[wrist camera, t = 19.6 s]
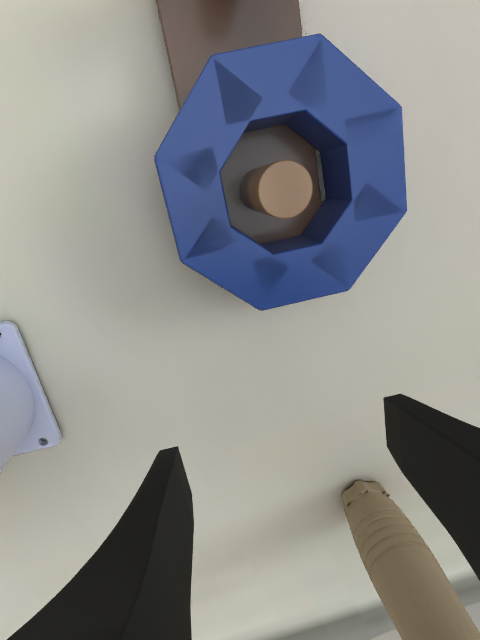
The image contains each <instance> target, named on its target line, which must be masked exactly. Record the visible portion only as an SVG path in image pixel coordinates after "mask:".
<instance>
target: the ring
mask: <svg viewBox="0 0 480 640" xmlns="http://www.w3.org/2000/svg"><path fill="white" fill-rule="evenodd" d="M284 124H285V125H287V126H288V127H289V128H290V129H292V130H293V131H294V132H295V133H297V134H298V135H299V136H300V137H302V138H303V139H304V140H306V141H307V142H308V143H309V144H311V145H312V146H313V147H314V148H316V149H317V150H318V151H319V152H320V155H321V163H322V172H323V180H324V188H325V197H326V199H325V200H324V202H323V203H322V205H321V206H320V208H319V209H318V211H317V212H316V214H315V215H314V217H313V218H312V219H311V221H310V222H309V224H308V225H307V227H306V228H305V230H304V231H303V233H302V234H301V235H299V236H294V237H290V238H285V239H281V240H276V241H272V242H267V243H263V244H259V243H258V242H256V241H255V240H253V239H252V238H250V237H249V236H247V235H246V234H244V233H243V232H241V231H240V230H238V229H237V228H235V227H234V226H232V225H231V223H230V218H229V213H228V208H227V203H226V198H225V193H224V188H223V184H222V179H221V174H220V171H221V169H222V168H223V166H224V164H225V163H226V161H227V159H228V158H229V156H230V154H231V153H232V151H233V149H234V148H235V146H236V145H237V143H238V141H239V140H240V138H241V136H242V135H243V133H245V132H250V131H255V130H260V129H265V128H269V127H274V126H279V125H284ZM154 157H155V164H156V168H157V172H158V176H159V180H160V184H161V188H162V192H163V195H164V199H165V203H166V207H167V211H168V215H169V219H170V223H171V227H172V231H173V235H174V239H175V242H176V246H177V250H178V254H179V258H180V260H181V262H182V263H183V264H185V265H186V266H188V267H190V268H191V269H193V270H195V271H196V272H198V273H199V274H201V275H203V276H204V277H206V278H208V279H209V280H211V281H213V282H214V283H216V284H217V285H219V286H221V287H222V288H224V289H226V290H227V291H229V292H230V293H232V294H234V295H235V296H237V297H239V298H240V299H242V300H243V301H245V302H247V303H248V304H250V305H252V306H253V307H255V308H257V309H258V310H267V309H271V308H275V307H280V306H284V305H288V304H293V303H297V302H301V301H306V300H310V299H314V298H319V297H323V296H327V295H332V294H336V293H340V292H345V291H348V290H349V289H350V288H351V287H352V285H353V284H354V283H355V281H356V280H357V279H358V277H359V276H360V274H361V273H362V272H363V270H364V269H365V268H366V266H367V265H368V264H369V262H370V261H371V259H372V258H373V257H374V255H375V254H376V253H377V251H378V250H379V249H380V247H381V246H382V244H383V243H384V242H385V240H386V239H387V238H388V236H389V235H390V234H391V232H392V231H393V229H394V228H395V227H396V225H397V224H398V223H399V221H400V220H401V219H402V217H403V216H404V214H405V213H406V211H407V202H406V182H405V163H404V143H403V123H402V107H401V106H400V104H398V103H397V102H396V101H395V100H394V99H393V98H392V97H391V96H390V95H388V94H387V93H386V92H385V91H384V90H383V89H382V88H381V87H380V86H378V85H377V84H376V83H375V82H374V81H373V80H372V79H371V78H370V77H368V76H367V75H366V74H365V73H364V72H363V71H362V70H361V69H360V68H358V67H357V66H356V65H355V64H354V63H353V62H352V61H351V60H350V59H349V58H347V57H346V56H345V55H344V54H343V53H342V52H341V51H340V50H339V49H337V48H336V47H335V46H334V45H333V44H332V43H331V42H330V41H329V40H327V39H326V38H325V37H324V36H323V35H321V34H315V35H310V36H305V37H300V38H294V39H289V40H284V41H279V42H274V43H269V44H264V45H259V46H254V47H249V48H243V49H238V50H233V51H228V52H223V53H218V54H213V55H212V56H210V58H209V60H208V61H207V63H206V65H205V67H204V69H203V70H202V72H201V74H200V76H199V77H198V79H197V81H196V83H195V85H194V86H193V88H192V90H191V92H190V93H189V95H188V97H187V99H186V101H185V102H184V104H183V106H182V108H181V109H180V111H179V113H178V115H177V117H176V118H175V120H174V122H173V124H172V126H171V127H170V129H169V131H168V133H167V134H166V136H165V138H164V140H163V142H162V143H161V145H160V147H159V149H158V150H157V152H156V154H155V156H154Z"/></svg>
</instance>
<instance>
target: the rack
mask: <svg viewBox="0 0 480 640" xmlns="http://www.w3.org/2000/svg"><path fill="white" fill-rule="evenodd" d="M156 4H157V8H158V13H159V18H160V22H161V27H162V32H163V36H164V41H165V46H166V50H167V55H168V60H169V64H170V69H171V74H172V78H173V83H174V88H175V92H176V97H177V102H178V106H179V111H180V109H181V108H182V106H183V104H184V102H185V101H186V99H187V97H188V95H189V93H190V92H191V90H192V88H193V86H194V85H195V83H196V81H197V79H198V77H199V76H200V74H201V72H202V70H203V69H204V67H205V65H206V63H207V61H208V60H209V58H210V56H212V55H213V54H218V53H223V52H228V51H233V50H238V49H243V48H249V47H254V46H259V45H264V44H269V43H274V42H279V41H284V40H289V39H294V38H300V37H302V28H301V19H300V10H299V1H298V0H156ZM220 174H221V179H222V184H223V188H224V193H225V198H226V203H227V208H228V213H229V218H230V223H231V225H232V226H234V227H235V228H237V229H238V230H240V231H241V232H243V233H244V234H246V235H247V236H249V237H250V238H252V239H253V240H255V241H256V242H258V243H259V244H263V243H267V242H272V241H276V240H281V239H285V238H290V237H294V236H299V235H301V234H302V233H303V231H304V230H305V228H306V227H307V225H308V224H309V222H310V221H311V219H312V218H313V217H314V215H315V214H316V212H317V211H318V209H319V208H320V206H321V198H320V189H319V180H318V171H317V162H316V153H315V148H314V147H313V146H312V145H311V144H309V143H308V142H307V141H306V140H304V139H303V138H302V137H300V136H299V135H298V134H297V133H295V132H294V131H293V130H292V129H290V128H289V127H288V126H287V125H285V124H284V125H279V126H274V127H269V128H265V129H260V130H255V131H250V132H245V133H243V135H242V136H241V138H240V140H239V141H238V143H237V145H236V146H235V148H234V149H233V151H232V153H231V154H230V156H229V158H228V159H227V161H226V163H225V164H224V166H223V168H222V169H221V171H220Z"/></svg>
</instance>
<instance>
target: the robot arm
mask: <svg viewBox="0 0 480 640" xmlns="http://www.w3.org/2000/svg"><path fill="white" fill-rule="evenodd" d="M0 332H1V336H0V473H1V471H2V470H3V468H4V467H5V465H6V464H7V463H8V461H9V460H10V458H11V457H12V456H15V455H19V454H24V453H28V452H32V451H37V450H41V449H45V448H50V447H54V446H57V445H58V444H59V443H60V441H61V439H62V434H61V432H60V429H59V427H58V425H57V422H56V420H55V417H54V415H53V412H52V410H51V408H50V405H49V403H48V400H47V398H46V395H45V393H44V391H43V388H42V386H41V383H40V381H39V378H38V376H37V374H36V371H35V369H34V366H33V364H32V361H31V359H30V357H29V354H28V352H27V349H26V347H25V344H24V342H23V340H22V337H21V335H20V332H19V330H18V327H17V326H16V324H14V323H13V322H10V321H2V322H0ZM384 412H385V426H386V440H387V447H388V449H389V451H390V453H391V454H392V456H393V458H394V460H395V461H396V463H397V465H398V466H399V468H400V470H401V471H402V473H403V474H404V475H405V477H406V478H407V479H408V481H409V482H410V483H411V485H412V486H413V487H414V489H415V490H416V491H417V492H418V494H419V495H420V496H421V498H422V499H423V500H424V501H425V503H426V504H427V505H428V507H429V508H430V509H431V510H432V512H433V513H434V514H435V516H436V517H437V518H438V519H439V521H440V522H441V523H442V525H443V526H444V527H445V528H446V530H447V531H448V533H449V534H450V535H451V537H452V538H453V540H454V541H455V542H456V544H457V545H458V547H459V549H460V550H461V552H462V553H463V555H464V556H465V558H466V560H467V561H468V563H469V564H470V566H471V567H472V569H473V571H474V572H475V574H476V575H477V577H478V579H479V580H480V428H478V427H475V426H473V425H470V424H468V423H465V422H463V421H461V420H458V419H456V418H454V417H451V416H449V415H447V414H445V413H442V412H440V411H438V410H436V409H434V408H431V407H429V406H427V405H425V404H423V403H421V402H419V401H416V400H414V399H412V398H410V397H407V396H405V395H402V394H397V395H393V396H389V397H384ZM41 438H44V439H46V440H47V442H44V441H42V440H41ZM193 532H194V518H193V503H192V493H191V489H190V486H189V483H188V479H187V476H186V472H185V469H184V466H183V462H182V459H181V455H180V452H179V448H178V446H177V447H173V448H168V449H164V450H160V451H159V453H158V454H157V456H156V458H155V460H154V462H153V464H152V466H151V468H150V470H149V471H148V473H147V475H146V477H145V479H144V481H143V483H142V484H141V486H140V488H139V490H138V491H137V493H136V495H135V496H134V498H133V500H132V502H131V503H130V505H129V506H128V508H127V509H126V511H125V512H124V514H123V516H122V517H121V519H120V520H119V522H118V523H117V525H116V526H115V527H114V529H113V530H112V532H111V533H110V534H109V536H108V537H107V539H106V540H105V541H104V542H103V544H102V545H101V546H100V548H99V549H98V550H97V551H96V552H95V554H94V555H93V556H92V557H91V558H90V559H89V560H88V562H87V563H86V564H85V565H84V566H83V567H82V568H81V569H80V571H79V572H78V573H77V574H76V575H75V576H74V577H73V578H72V580H71V581H70V582H69V583H68V584H67V585H66V586H65V587H64V588H63V589H62V590H61V591H60V592H59V593H58V594H57V595H56V596H55V597H54V598H53V599H52V600H51V601H50V602H49V603H48V604H47V605H45V606H44V607H43V608H42V609H41V610H40V611H39V612H38V613H37V614H36V615H35V616H34V617H33V618H31V619H30V620H29V621H28V622H27V623H26V624H24V625H23V626H22V627H21V628H20V629H19V630H17V631H16V632H15V633H14V634H13V635H12V636H11V637H9V638H8V639H7V640H192V638H191V613H190V599H191V575H192V554H193Z"/></svg>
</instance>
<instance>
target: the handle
mask: <svg viewBox="0 0 480 640" xmlns="http://www.w3.org/2000/svg"><path fill="white" fill-rule="evenodd" d="M389 496H390V495H389V494H388V493H387V491H386V490H385V489H384V488H383V487H382V486H381V485H380V484H379V483H378V482H364V481H362V480H358V481H355V482H354V484H353V485H352V486H351V487H350V488H349V489H347V490H345V491H344V493H343V495H342V498H343V501H344V504H345V507H344V510H345V514H346V517H347V520H348V522H349V526H350V529H351V533H352V535H353V538H354V541H355V544H356V546H357V549H358V551H359V554H360V556H361V559H362V561H363V563H364V566H365V568H366V570H367V572H368V574H369V577H370V579H371V581H372V583H373V585H374V587H375V589H376V591H377V593H378V595H379V597H380V599H381V601H382V602H383V604H384V606H385V608H386V610H387V612H388V614H389V616H390V617H391V619H392V621H393V623H394V625H395V627H396V629H397V631H398V632H399V634H400V636H401V638H402V640H480V633H479V631H478V629H477V627H476V626H475V624H474V623H473V621H472V619H471V617H470V616H469V614H468V612H467V611H466V609H465V607H464V606H463V604H462V602H461V601H460V599H459V597H458V595H457V594H456V592H455V590H454V589H453V587H452V585H451V584H450V582H449V580H448V579H447V577H446V575H445V573H444V572H443V570H442V568H441V567H440V565H439V563H438V562H437V560H436V558H435V557H434V555H433V554H432V552H431V550H430V549H429V548H428V546H427V545H426V543H425V542H424V540H423V539H422V537H421V536H420V534H419V533H418V532H417V530H416V529H415V527H414V526H413V525H412V524H411V522H410V521H409V519H408V518H407V517H406V516H405V514H404V513H403V512H402V511H401V509H400V508H399V507H398V506H397V505H396V504H395V503H394V502H393V501H392V500H391V499H390V498H389Z"/></svg>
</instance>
